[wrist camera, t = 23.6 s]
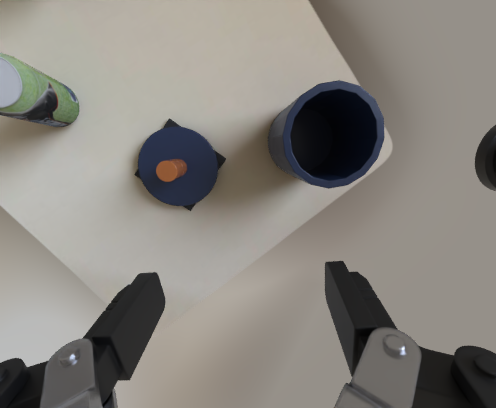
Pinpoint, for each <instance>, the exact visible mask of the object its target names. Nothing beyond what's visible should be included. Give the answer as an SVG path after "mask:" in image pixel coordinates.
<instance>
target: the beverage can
mask: <svg viewBox="0 0 496 408" xmlns="http://www.w3.org/2000/svg"><path fill="white" fill-rule="evenodd" d="M78 113H79V103H78V99H77V97H76V95H75V94H74V93H73V91H72V90H71V89H70V88H68V87H67V86H66V85H64V84H62V83H60V82H58V81H57V80H55V79H53V78H51V77H49V76H47V75H45V74H44V73H42V72H40V71H38V70H36V69H34V68H33V67H31V66H29V65H27V64H25V63H23V62H22V61H20V60H18V59H16V58H14V57H12V56H9V55H7V54H3V53H0V115H2V116H7V117H12V118H16V119H21V120H26V121H30V122H35V123H40V124H44V125H49V126H54V127H64V126H67V125H69V124H71V123H72V122H74V120H75V119H76V118H77V116H78Z"/></svg>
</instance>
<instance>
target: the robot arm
mask: <svg viewBox="0 0 496 408" xmlns="http://www.w3.org/2000/svg"><path fill="white" fill-rule="evenodd" d="M493 164H494V170H495V173H496V151H495V154H494V162H493ZM325 295H326V300H327V304H328V307H329V310H330V313H331V316H332V319H333V322H334V325H335V328H336V331H337V334H338V337H339V340H340V343H341V346H342V349H343V352H344V355H345V358H346V361H347V364H348V366H349V370H350V373H351V376H352V380H351V382H350V383H349V384H348V383H346V384H345V385H344V387H343V389H342V391H341V393H340V395H339V398H338V400H337V402H336V404H335V407H334V408H496V354H495V353H493V352H491V351H489V350H486V349H484V348H480V347H476V346H462V347H460V348H458V349H457V350H456V352H455V354H454V356H453V355H449V354H445V353H441V352H436V351H432V350H428V349H425V348H422V347H420V346H418V345H417V344H416V342H415V341H414V340H413V339H412V338H411V337H409V336H408V335H406V334H405V333H403V332H401V331H399V330H398V329H397V328H396V326H395V325H394V323H393V322H392V320H391V318H390V316H389V315H388V313H387V311H386V310H385V308H384V307H383V305H382V303H381V302H380V300H379V299H378V298H377V295H376V294H375V292H374V291H373V290H372V287H371V286H370V284H369V282H368V281H367V279H366V278H364V277H363V276H362V275H360V274H359V273H358V272H349V271H348V269H347V267H346V265H345V264H344V262H343V261H335V262H334V261H333V262H326V263H325ZM164 308H165V296H164V293H163V289H162V286H161V283H160V279H159V276H158V274H157V273H156V272H153V273H140V274H138V275H137V277H136V278H135V279H134V281H133V282H132V283H131V285H127V286H126V287H125V288H124V289H122V290H121V291H120V292H119V293H118V294H117V295H116V296H115V298H114V299H113V300H112V301H111V303H110V304H109V305H108V307H107V308H106V310H105V311H104V312H103V313H102V314H101V316H100V317H99V318H98V319H97V321H96V322H95V323H94V324H93V326H92V327H91V328H90V330H89V331H88V332H87V333H86V335H85V336H84V337H83V338H82V339H78V340H75V341H72V342H70V343H68V344H66V345H65V346H63V347H62V348H61V349H59V350H58V351H57V352H56V353H55V354H54V355H53V356H52V357H51V358H50V359H49V361H46V362H43V363H40V364H36V365H34V366H30V367H26V365H25V363H24V362H23V360H22V359H19V358H14V359H10V360H7V361H4V362H2V363H0V408H118V406H117V399H116V393H115V390H114V386H115V384H116V383H117V381H118V380H130V378H131V376H132V374H133V372H134V370H135V368H136V366H137V364H138V362H139V360H140V358H141V356H142V354H143V352H144V350H145V348H146V346H147V344H148V342H149V340H150V338H151V336H152V334H153V331H154V329H155V327H156V325H157V323H158V321H159V319H160V317H161V315H162V313H163V311H164Z"/></svg>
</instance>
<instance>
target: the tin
mask: <svg viewBox="0 0 496 408" xmlns="http://www.w3.org/2000/svg"><path fill="white" fill-rule="evenodd" d="M383 141H384V118H383V115H382V113H381V111H380V109H379V107H378V104H377V102H376V100H375V99H374V98H373V97H372V96H371V95H370V94H369V93H367V92H366V91H365V90H364V89H363V88H362V87H361V86H358V85H355V84H351V83H348V82H344V81H333V82H327V83H321V84H318V85H316V86H315V87H313V88H312V89H310V90H309V91H307V92H306V93H304V94H302V95H301V96H300V97H299V98H297V99H296V100H295V101H294V102H293V103H291V104H290V105H289V106H288V107H287V108H285V109H284V110H283V111H282V112H281V113H280V114H279V115H278V116H277V118H276V119H275V120H274V122H273V123H272V125H271V128H270V131H269V136H268V148H269V152H270V155H271V157H272V159H273V161H274V162H275V163H276V165H277V166H278V167H279V168H281V169H282V170H283V171H285V172H286V173H288V174H290V175H292V176H294V177H296V178H298V179H300V180H303V181H305V182H307V183H309V184H311V185H316V186H320V187H324V188H334V187H339V186H345V185H348V184H350V183H352V182H353V181H355V180H357V179H358V178H360V177H362V176H363V175H364V174H366V172H367V171H368V170H369V169H370V167H371V166H372V165H373V164H374V162H375V161H376V160H377V158H378V156H379V153H380V150H381V147H382V144H383Z"/></svg>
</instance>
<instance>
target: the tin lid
mask: <svg viewBox="0 0 496 408" xmlns="http://www.w3.org/2000/svg"><path fill="white" fill-rule="evenodd" d="M138 169H139V174H140V177H141V180H142V182H143V184H144V186H145V187H146V189H147V190H148V191H149V192H150V193H151V194H152V195H153V196H154V197H156V198H157V199H158V200H160V201H162V202H164V203H167V204H170V205H175V206H186V205H191V204H194V203H196V202H198V201H200V200H202V199H203V198H204V197H205V196H206V195H208V193H209V192H210V191H211V190H212V188H213V186H214V184H215V182H216V179H217V174H218V162H217V158H216V155H215V152H214V150H213V148H212V146H211V145H210V144H209V142H208V141H207V140H206V139H205V138H204V137H203V136H201V135H200V134H198V133H197V132H195V131H193V130H191V129H187V128H184V127H168V128H164V129H161V130H159V131H157V132H155V133H154V134H152V135H151V136H150V137H149V138H148V139H147V140H146V142H145V143H144V144H143V146H142V148H141V151H140V154H139V159H138Z"/></svg>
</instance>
